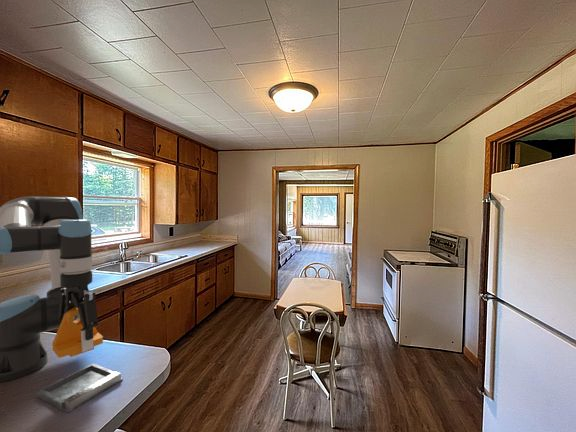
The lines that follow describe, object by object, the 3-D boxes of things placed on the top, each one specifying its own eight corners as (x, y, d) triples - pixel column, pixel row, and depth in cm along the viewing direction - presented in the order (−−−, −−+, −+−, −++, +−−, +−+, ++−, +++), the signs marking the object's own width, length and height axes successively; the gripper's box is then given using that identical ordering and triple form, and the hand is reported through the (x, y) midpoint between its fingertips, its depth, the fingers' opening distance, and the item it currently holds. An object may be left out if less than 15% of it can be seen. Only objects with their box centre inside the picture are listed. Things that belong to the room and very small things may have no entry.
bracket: (59, 361, 75) (58, 318, 75) (52, 352, 80) (51, 312, 79) (103, 345, 84) (103, 307, 83) (95, 338, 88) (95, 302, 88)
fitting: (37, 396, 78) (37, 388, 78) (93, 368, 91) (92, 361, 91) (67, 413, 72) (67, 403, 71) (122, 380, 85) (122, 372, 85)
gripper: (41, 270, 82) (44, 345, 82) (84, 278, 73) (86, 361, 74) (70, 266, 89) (72, 334, 89) (112, 272, 80) (113, 348, 81)
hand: (78, 346), depth 81 cm, fingers closed on bracket, 8 cm apart
